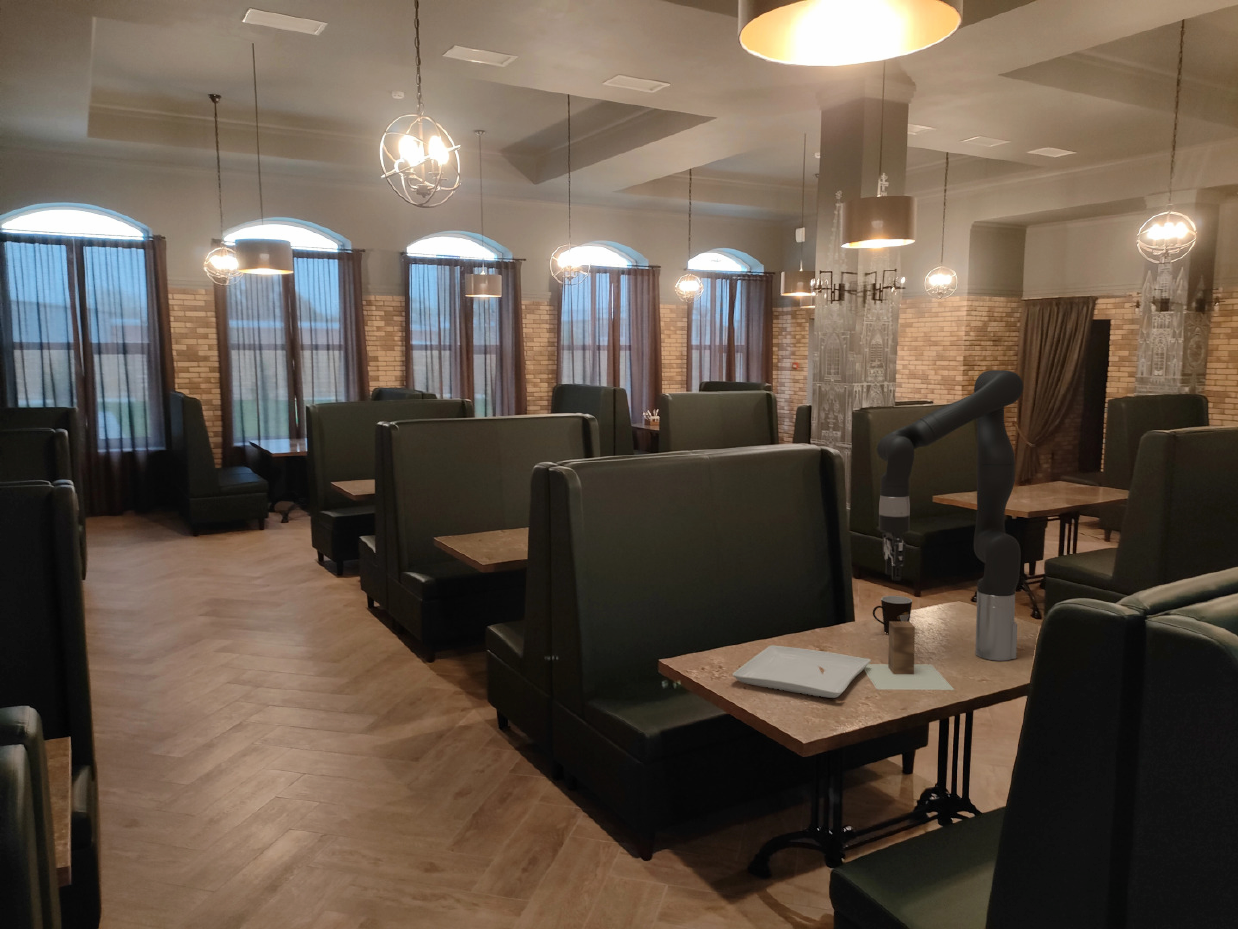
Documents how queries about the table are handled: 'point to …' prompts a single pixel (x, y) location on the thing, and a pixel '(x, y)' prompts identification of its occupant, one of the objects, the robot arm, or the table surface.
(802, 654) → the square plate
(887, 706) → the table surface
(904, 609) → the coffee mug
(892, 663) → the walnut block
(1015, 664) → the table surface
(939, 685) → the sage mat
